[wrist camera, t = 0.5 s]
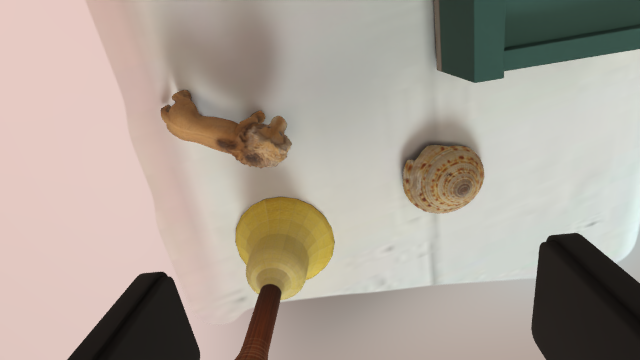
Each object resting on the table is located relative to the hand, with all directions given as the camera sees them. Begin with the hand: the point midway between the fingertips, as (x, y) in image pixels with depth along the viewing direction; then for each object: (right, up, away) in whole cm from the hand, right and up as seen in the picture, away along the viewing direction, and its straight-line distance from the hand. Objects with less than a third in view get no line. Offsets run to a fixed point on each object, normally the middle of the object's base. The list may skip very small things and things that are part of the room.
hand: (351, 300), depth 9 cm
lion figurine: (-10, +10, +29) cm, 32 cm away
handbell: (-5, -4, +34) cm, 35 cm away
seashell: (+13, +4, +30) cm, 33 cm away
